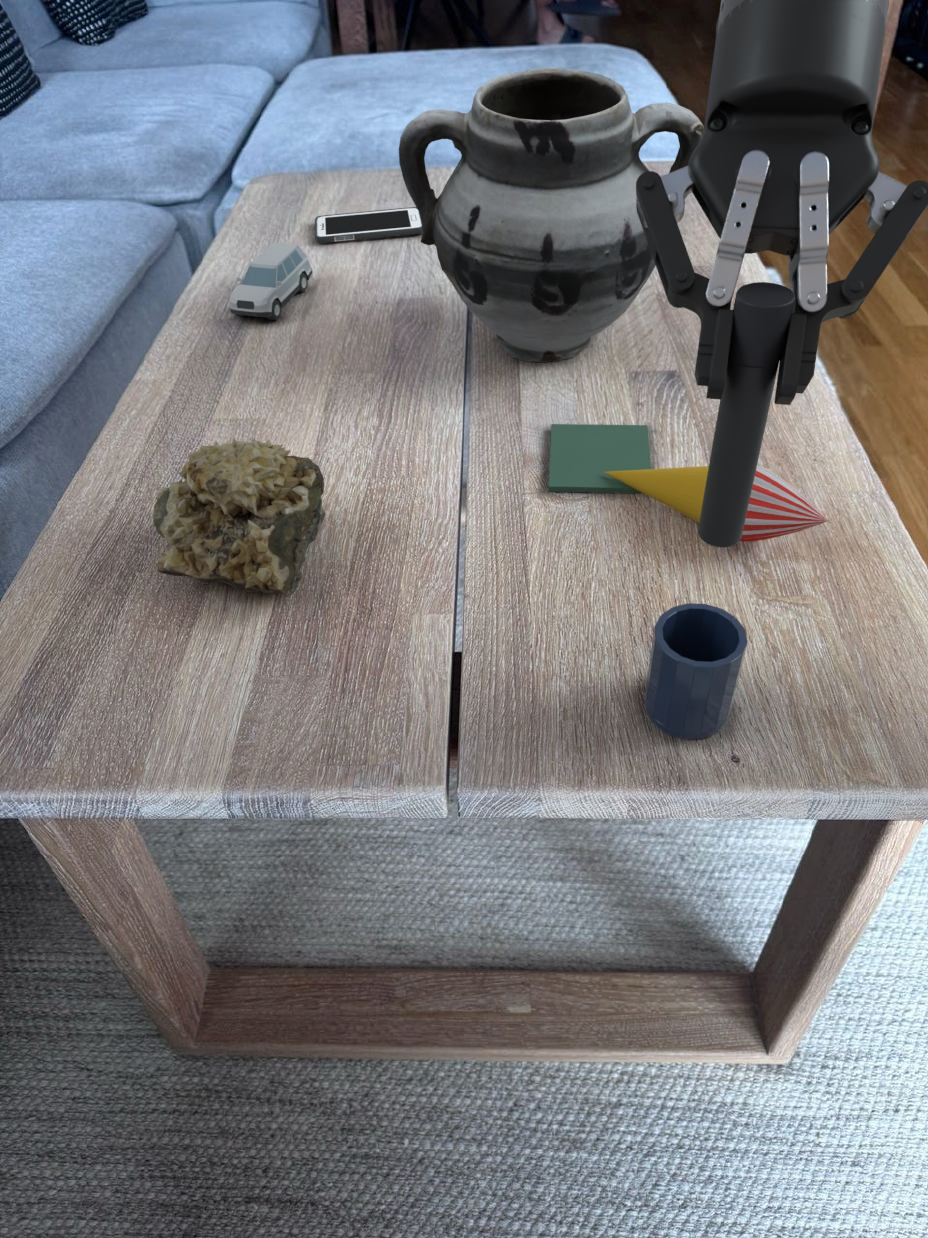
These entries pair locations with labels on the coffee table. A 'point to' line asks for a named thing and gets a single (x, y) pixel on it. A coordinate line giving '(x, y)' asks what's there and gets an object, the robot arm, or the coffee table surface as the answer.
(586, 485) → the felt pad
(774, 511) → the ice cream cone
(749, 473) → the cylinder
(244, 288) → the toy car
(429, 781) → the coffee table surface
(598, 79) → the ceramic pot
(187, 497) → the mineral specimen
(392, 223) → the cell phone
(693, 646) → the pen cup
